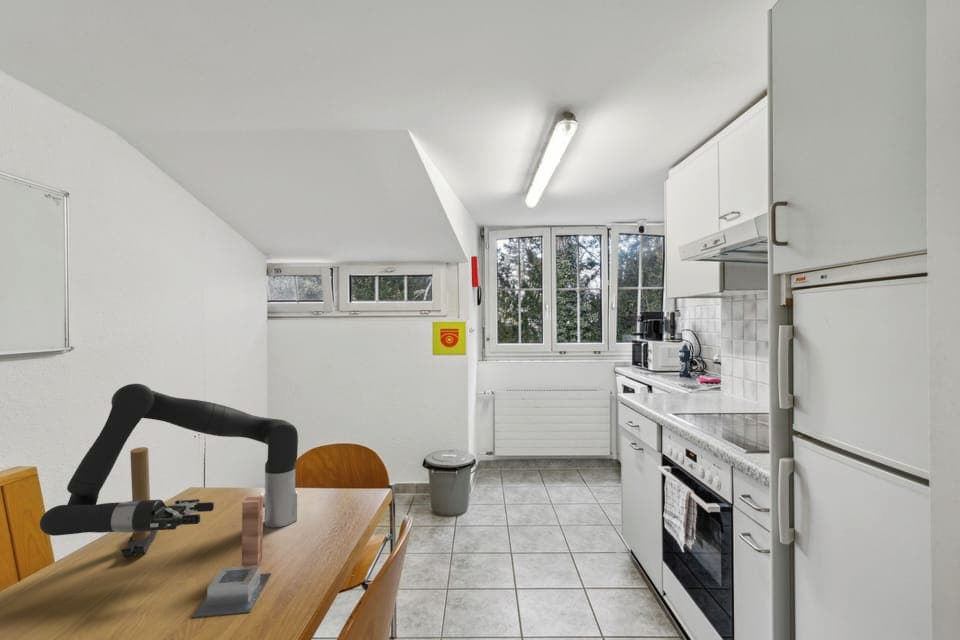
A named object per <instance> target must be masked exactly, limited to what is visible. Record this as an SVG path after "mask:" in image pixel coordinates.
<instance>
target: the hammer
mask: <svg viewBox="0 0 960 640" xmlns="http://www.w3.org/2000/svg"><path fill="white" fill-rule="evenodd" d="M129 456H130V473H131V474H130V475H131V476H130V477H131V501H140V500H151V492H150V461H149V457H150V456H149V448H148V447H146V446H145V447H144V446H141V447H135V448H133V449H131V450H130V455H129ZM158 532H159V530H155V531H143V532H132V533H131V537H130V538H129V540H128V542H127V544H126V547H125V549H124V548H123V549H121V550H120V551H121V554H122V557H124V558H128V557H134V556H139V555H140V554H141V555H146V554H147V553H148V551H149V549H150V547H151V546H152V544H153V542H154V540H155V538H156V536H157V533H158ZM152 541H153V542H152ZM151 543H152V544H151ZM150 545H151V546H150ZM149 546H150V547H149ZM148 548H149V549H148ZM147 550H148V551H147ZM146 552H147V553H146ZM134 554H135V555H134Z"/></svg>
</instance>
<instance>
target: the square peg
mask: <svg viewBox="0 0 960 640" xmlns="http://www.w3.org/2000/svg"><path fill="white" fill-rule="evenodd" d="M241 505H242V506H241V507H242V508H241V567H242V566H255V565H260V567H262V564H263V547H264V546H263V545H264V544H263V537H264V535H263V533H264V532H263V531H264V530H263V529H264V528H263V526H264V525H263V524H264V519H263V518H264V514H263V513H264V504H263V496H260V495H259V496H247V497H246V498H245V499H244V500H243V502H242V503H241Z"/></svg>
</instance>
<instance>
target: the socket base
mask: <svg viewBox="0 0 960 640" xmlns="http://www.w3.org/2000/svg"><path fill="white" fill-rule="evenodd" d="M271 577H272V573H271V572H267V573H261V566H260V565H255V566H242V565H241V566H233V567H231V566H229V567H222V568H221V570H219V572H218V573H217V575H216V576H215V578H213V580H212V581H211V583H210V584H209V585H208V586H207V592H206V593H207V594H206V597H205V599H204V600H203V601H202V602H201V604H200V605H199V606H198V608H197V609H196V610H195V612H193V614H192V615H191V617H192V619H193V618H194V619H195V618H205V617H215V616H218V617H219V616H228V615H229V616H230V615H237V614H250V613H251V612H252V610H253V608H254V607H255V605H256V603H257V601H258V600H259V598H260V596H261V595H262V592H263V590H264V589H265V587H266V585H267V583H268V582H269V580H270V578H271ZM267 581H268V582H267Z"/></svg>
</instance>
